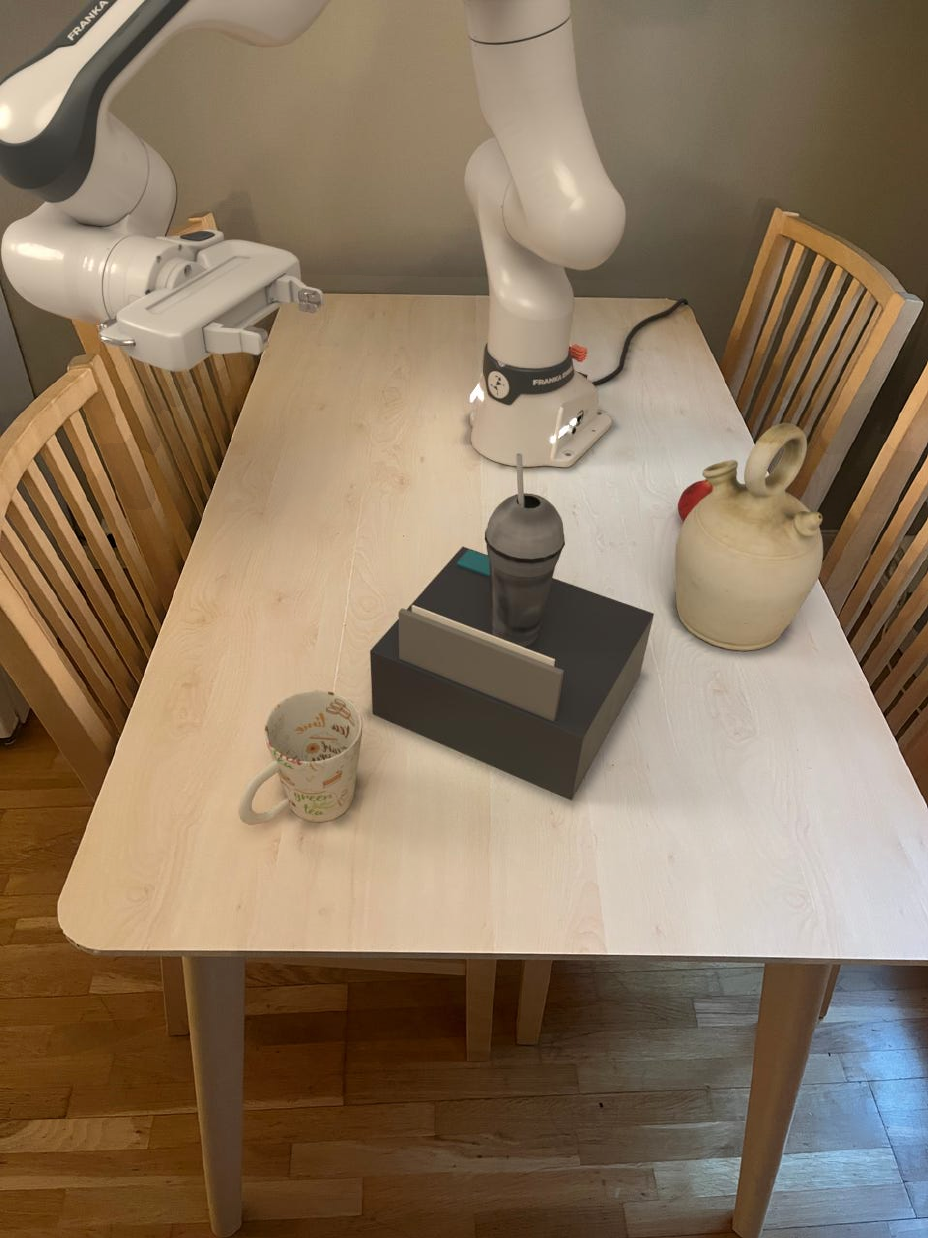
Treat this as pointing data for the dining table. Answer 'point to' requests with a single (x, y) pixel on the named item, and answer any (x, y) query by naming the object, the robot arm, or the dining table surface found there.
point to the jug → (749, 549)
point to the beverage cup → (522, 562)
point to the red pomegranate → (693, 497)
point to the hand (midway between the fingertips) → (293, 321)
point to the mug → (309, 757)
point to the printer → (510, 675)
